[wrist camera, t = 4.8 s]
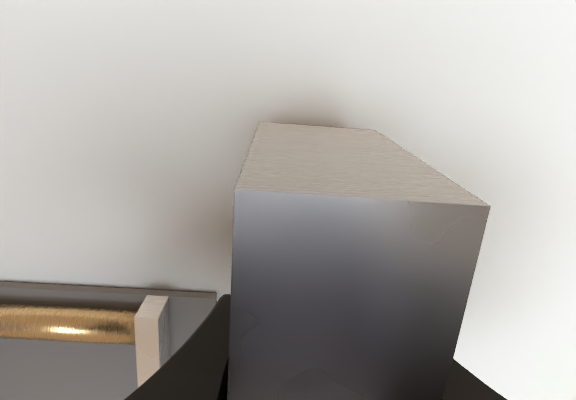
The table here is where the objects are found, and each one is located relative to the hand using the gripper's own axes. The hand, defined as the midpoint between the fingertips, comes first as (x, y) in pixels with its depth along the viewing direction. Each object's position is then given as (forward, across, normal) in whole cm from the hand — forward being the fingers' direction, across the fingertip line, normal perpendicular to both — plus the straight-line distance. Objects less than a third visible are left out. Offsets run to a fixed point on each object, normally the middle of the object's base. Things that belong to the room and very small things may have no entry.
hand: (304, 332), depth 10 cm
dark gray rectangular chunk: (+2, 0, 0) cm, 2 cm away
